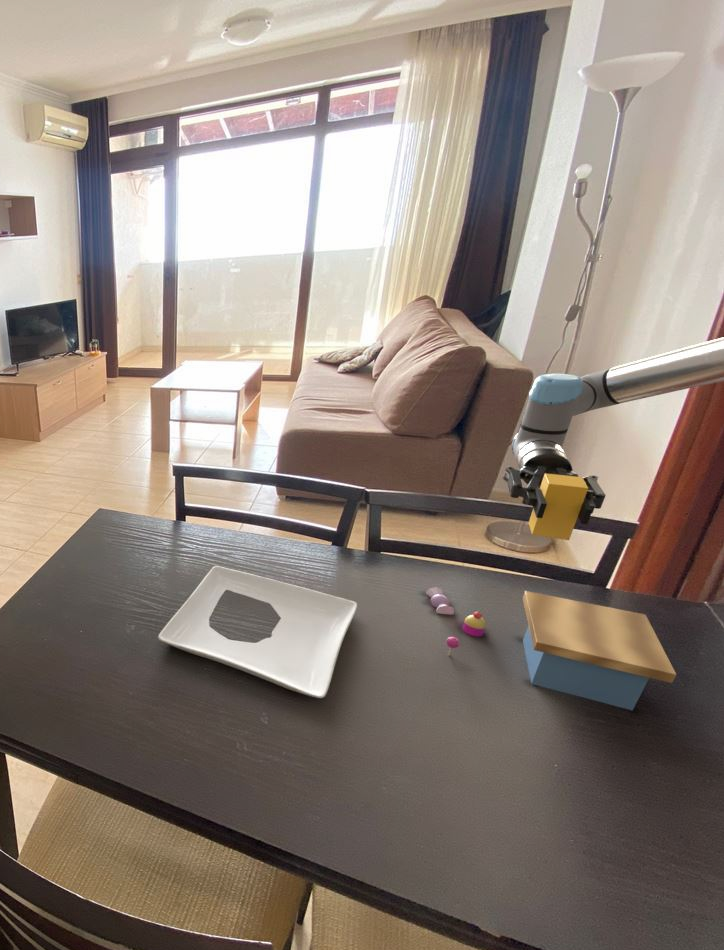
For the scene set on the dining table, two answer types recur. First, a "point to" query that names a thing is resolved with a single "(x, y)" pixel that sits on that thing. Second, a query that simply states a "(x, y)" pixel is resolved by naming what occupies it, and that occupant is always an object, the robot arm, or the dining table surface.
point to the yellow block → (559, 506)
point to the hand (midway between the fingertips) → (563, 513)
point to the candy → (472, 623)
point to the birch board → (596, 635)
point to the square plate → (293, 639)
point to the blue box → (583, 678)
